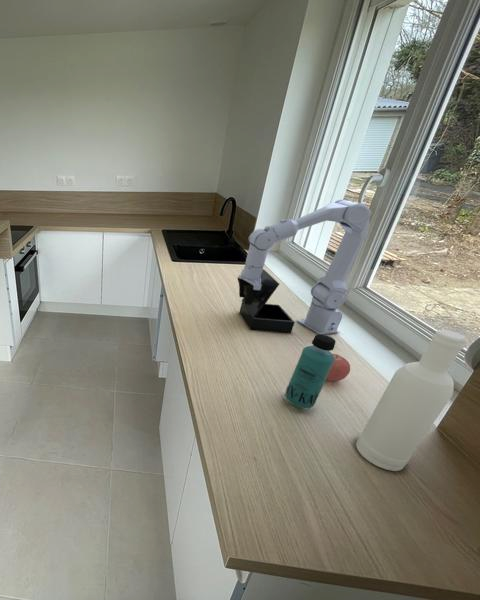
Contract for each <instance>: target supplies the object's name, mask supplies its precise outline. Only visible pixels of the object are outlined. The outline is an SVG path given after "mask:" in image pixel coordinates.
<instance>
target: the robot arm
mask: <svg viewBox="0 0 480 600" xmlns="http://www.w3.org/2000/svg"><path fill="white" fill-rule="evenodd" d="M372 214H373V212H372V211H371V209H370V208H369V206H367V205H366V204H364V203H358V202H354V201H350V200H347V199H344V198H343V199H337V200H336V201H334V202H333V201H332V202H329V203H328V204H326V205H324V206H323V207H321V208H318V209H316V210H314V211H312V212H310V213H307V214H305V215H303V216H301V217H299V218H297V219H294V220H293V219H291V218H287V219H286V218H282V219H280V221H279V222H277V223H274V224H272V225H270V226H269V225H266V226H264V228H257V229H255V230H253V231H252V232H251V233H250V235H249V236H248V242H249V248H248V251H247V255H246V258H245V263H244V266H243V269H241V273H240V275H238V276H237V278H236V279H237V282H238V296H239V298H245V300H244V304H246V305H251V304H252V302H253V301H254V299H255V298H256V296H257V295H258V294H259V293H260V292H261V291H262V290H263V289H262V288H261V286H262V285H261V274H262V271H263V269H264V266H265V263H266V259H267V256H268V251H269V249H271V248H272V247H273V246H274V244H276V243H278V242H281V241H283V240H286V239H289V238H292V237H294V236H296V235H297V234H298V231H299V230H303V229H305V228H308V227H311V226H314V225H317V224H321V223H324V222H335V223H339V225H340V226H341V227H342V229H343V230H344V234H343V236H342V238H341V241H340V243H339V245H338V247H337V249H336V252H335V253H334V256H333V258H332V260H331V262H330V264H329V267H328V269H327V271H326V273H325V275H324V276H322V277H320V278H318V280H317V282H316V283H315V284H314V285H313V286H312V287H311V289H310V295H311V296H312V298H311V302H310V305H309V308H308V311H307V312H306V316H305V318H304V319H299V320H297V322H298V323H299V324H301V325H303V326H304V327H306V328H307V329H309V330H311V331H313V332H314V333H316V334H323V335H327V334H335V333H338V332H339V331H338V328H339V326H340V324H341V321H342V319H343V313H342V312H341V311H340V310H338V308H340V307H341V306H343V304H344V303H345V302H346V293H347V291H348V290H347V286H346V282H345V280H346V279H347V277H348V274H349V273H350V272H351V268H352V267H353V264H354V263H355V261H356V258H357V256H358V254H359V252H360V250H361V248H362V247H363V245H364V242H365V240H366V238H367V236H368V234H369V233H370V229H371V227H370V226H371V225H370V218H371V216H372ZM244 290H245V294H244V293H243V291H244Z"/></svg>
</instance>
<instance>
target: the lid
mask: <svg viewBox="0 0 480 600" xmlns="http://www.w3.org/2000/svg"><path fill="white" fill-rule="evenodd" d="M261 285H262V286H261V288H262V289H263V290H262V291H261V292H260V293H259V294H258V295H257V296H256V298H255V299H254V301H253V302H252V304H251V305H246V304H244V300H245V298H244V297H242V299H241V303H242V302H243V304H244V305H245V306H246V308H247V309H248V311H249V312H250V314H251V315H252V316H253V317H254V318H255V317H256V316H257V314H258V313H259V312H260V310H261V309H262V308H263V306H264V305H265V304H267V303H268V301H269V299H270V298H271V297H272V295H273V294H274V293H275V291H276V290H277V289H278V287H279V286H280V282H279V281H278V280H276V279H275V277H273V276H272V275H271V274H270V273H269V272H268V271H266V270H265V269H264V268H263V271H262V274H261ZM243 293H244V294H245V290H244V291H243Z"/></svg>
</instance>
